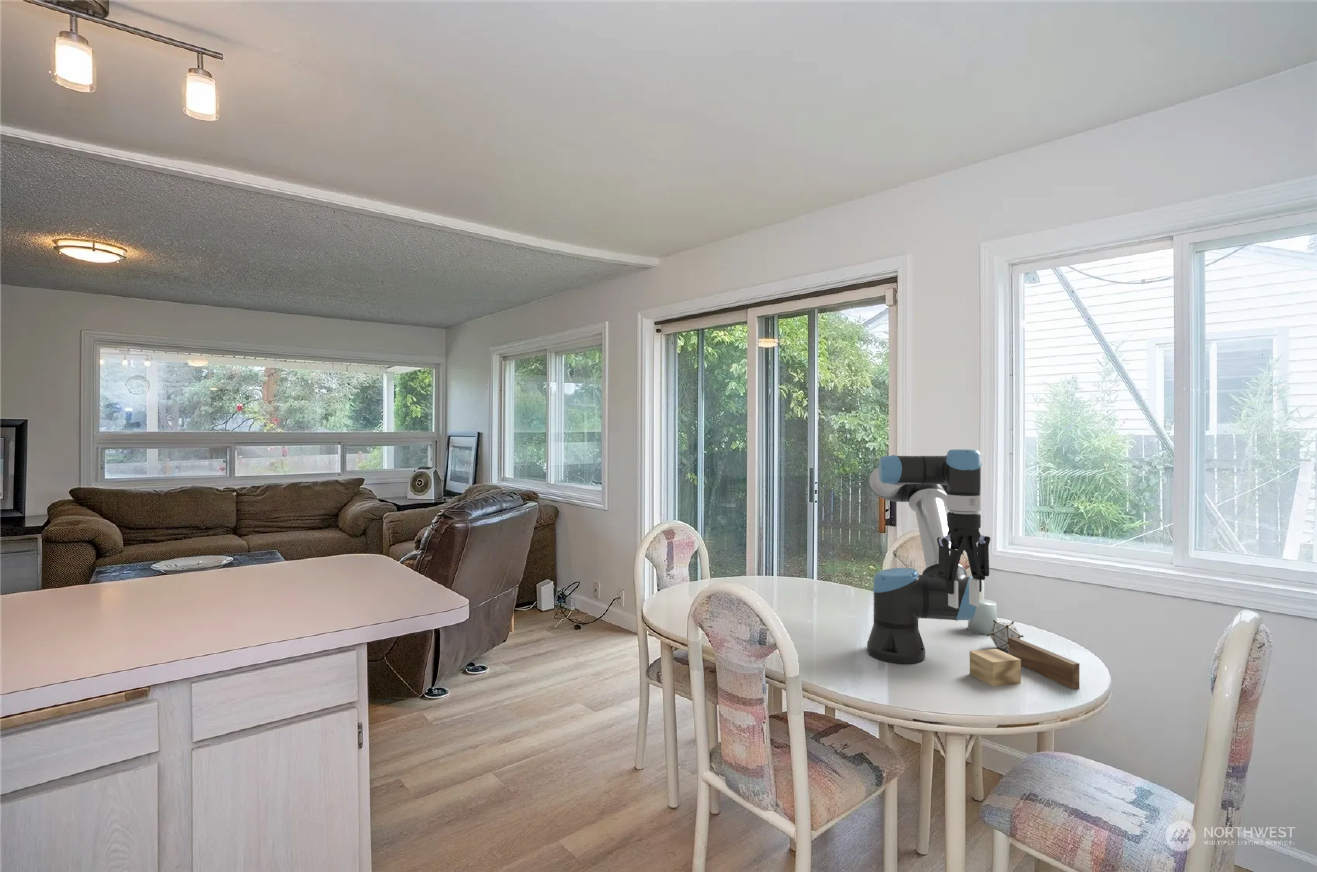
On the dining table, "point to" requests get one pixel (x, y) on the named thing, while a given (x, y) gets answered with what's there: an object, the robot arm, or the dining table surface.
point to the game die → (1003, 634)
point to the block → (995, 667)
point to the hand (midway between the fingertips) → (963, 605)
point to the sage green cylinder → (983, 617)
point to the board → (1045, 662)
